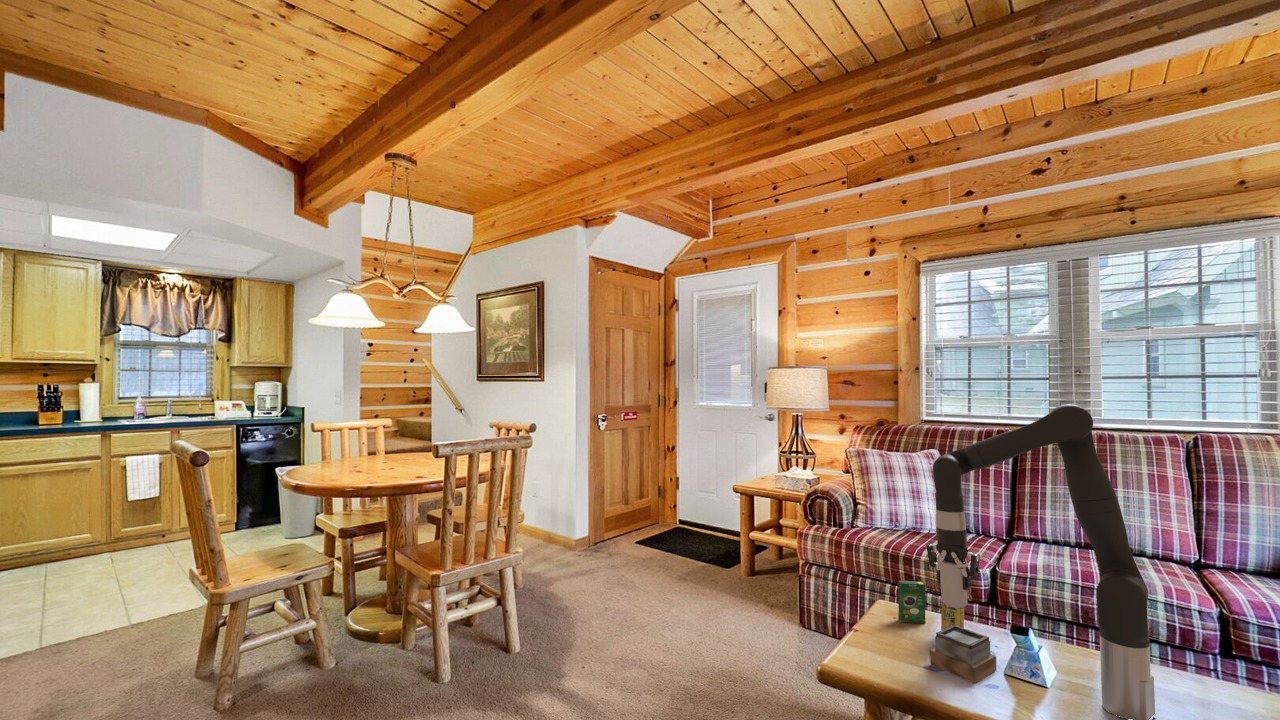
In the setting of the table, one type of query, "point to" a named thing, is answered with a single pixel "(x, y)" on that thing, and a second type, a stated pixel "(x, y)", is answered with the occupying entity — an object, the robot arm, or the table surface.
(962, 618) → the sauce bottle
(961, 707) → the table surface
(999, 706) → the table surface
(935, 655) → the tower base
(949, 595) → the beverage can
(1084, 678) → the table surface
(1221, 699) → the table surface
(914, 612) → the coffee box
